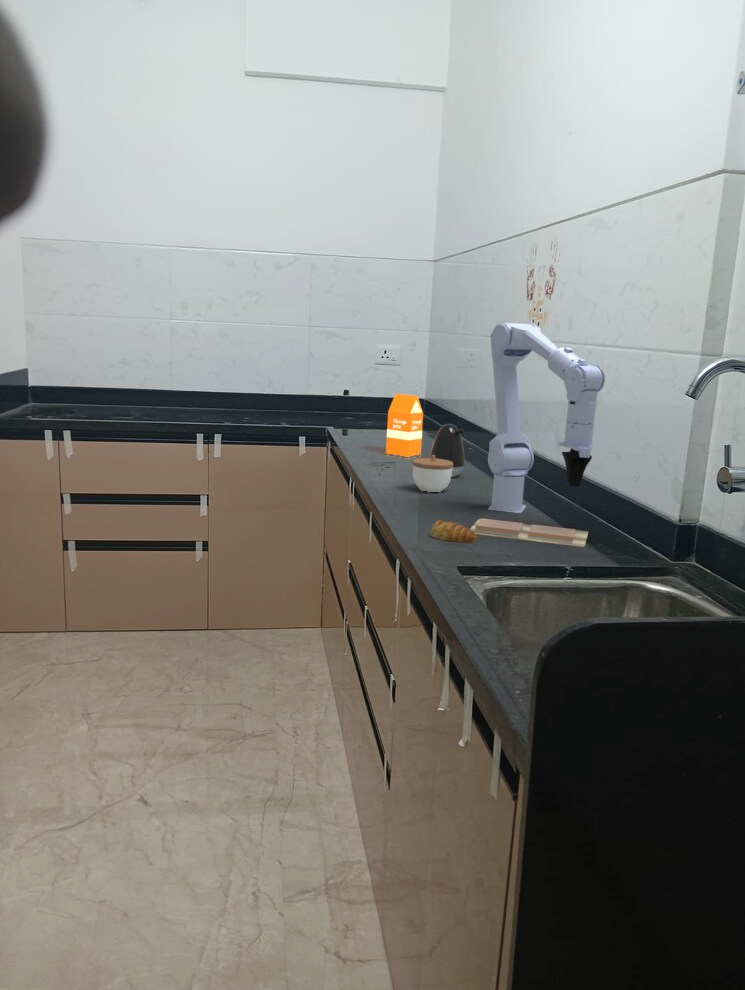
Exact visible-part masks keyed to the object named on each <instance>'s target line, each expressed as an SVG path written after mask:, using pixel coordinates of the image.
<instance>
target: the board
mask: <svg viewBox="0 0 745 990" xmlns="http://www.w3.org/2000/svg"><path fill="white" fill-rule="evenodd" d="M481 519H482V518H478V519H476V521H475V522H474V523H473V525H472V526H471V527H470V528H469V529H470V530H471V531H473V532H474V533H475V534H476V535H480V536H481V535H482V536H488V537H499V538H504V539H514V540H521V541H529V542H538V543H546V544H552V545H553V544H555V545H562V546H570V547H578V548H579V547H580V548H585V547H586V542H587V539H588V537H589V536H588V535H589V531H586V530H585V531H584V530H579V529H578V530H575V537H574V540H573V543H572V544H571V543H563V542H555V541H547V540H539V539H530V538H528V532H529V530H530V528H531V526H532V525H533V524H526V523H523V530H522V532H521V533H520V535H519V537H514V536H506V535H498V534H490V533H481V532H475V529H476V524H477V523H478V522H479V521H480V520H481Z"/></svg>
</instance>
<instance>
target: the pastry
mask: <svg viewBox="0 0 745 990" xmlns="http://www.w3.org/2000/svg"><path fill="white" fill-rule="evenodd" d="M429 536H430V538H433V539H436V540H440V541H441V540H442V541H448V542H455V543H462V544H463V543H465V544H469V543H471V544H473V543H476V542H477V540H478V538H479V536H478V534H475V533H474V532H473V531H471V530H470V528H467V527H466V526H464V525H461V524H460V523H458V522H452V521H446V522H445V521H444V520H441V519H439V520H438V519H437V520H436V521H435V522H434V523H433V525H432V527H431V530H430V535H429Z"/></svg>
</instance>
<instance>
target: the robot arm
mask: <svg viewBox="0 0 745 990" xmlns="http://www.w3.org/2000/svg"><path fill="white" fill-rule="evenodd" d="M489 337H490V347H491V358H492V368H493V369H492V371H493V382H494V395H495V407H496V421H497V434H496V435H495V437H493V438H492V439H491V440H490V441H489V443H488V444H489V445H488V447H489V450H488V455H487V462H488V466H489V469H490V471H491V473H493V485H492V497H491V505H490V506H489V507H488V508H487V510H489V511H499V512H507V513H508V512H509V513H515V514H517V513H518V514H522V513H523V511H524V510H525V509H526V508H527V505H526V504H523V499H524V489H525V488H524V487H525V477H526V476H525V475H528V473H529V471H530V470H531V469H532V467H533V466H534V461H535V459H534V458H535V457H534V452H533V450H532V448H531V441H530V439H529V438H528V437H527V436H526V435H525V434H524V433H523V432H522V428H521V427H522V426H521V425H522V424H521V415H520V414H521V413H520V403H519V402H520V401H519V399H520V398H519V389H518V388H519V386H518V374H517V366H518V364H520V362H521V361H523V360H524V359H525V358H527V357H528V356H529V355H530V354H531V353H532V352H534V353H535V354H537V355H538V356H540V358H543V359H544V360H546V361H547V366H548V369H549V370H550V371H551V372H553V374H555V375H556V376H558V377H559V378H560V379H561V380H562V381H563V382H564V387H565V389H566V399H567V401H568V402H567V403H568V404H567V413H566V423H565V431H564V441H558V445H559V447H564V448H566V449H567V448H568V449H570V450H568V451H562V452H561V454H562V456H563V459H564V463H565V468H566V477H567V484H568V486H569V487H579V486H580V485H581V482H582V479H583V476H584V473H585V470H586V468H587V466H588V465H589V463H590V461H592V458H593V456H592V455H591V450H592V449H593V446H594V445H593V437H594V427H595V418H596V417H595V416H596V409H597V408H596V407H597V399H598V393H600V392H601V390H602V389H603V388H604V385H605V382H606V380H605V379H606V375H605V373H604V370H603V369H602V368H601V367H600V365H598V364H592V365H590V364H588V362H587V360H585V359H584V358H581V357H579V356H578V355H576V354H575V353H573V352H574V349H572V348H571V347H557V346H556V344H554V343H553V342H552V341H551V340H550V339H549V338H548V337H547V336H546V335H544V333H542V328H541V327H539V326H537V325H536V324H535V323H514V322H513V323H511V322H505V321H501V322H498V323H497V324H496V325H495V327H494V328H493V330H492V331H491V334H490V336H489Z"/></svg>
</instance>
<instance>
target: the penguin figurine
mask: <svg viewBox="0 0 745 990" xmlns="http://www.w3.org/2000/svg"><path fill="white" fill-rule="evenodd" d="M464 431H465V430H464V428H460V429H458V427H457V426H456V425H454V424H452V423H445V424H443V425H442V426H441V427H440V428H439V430H438V431H437V434H436V435H435V437H434V441H433V443H432V447H431V449H430V454H429V458H431V455H435V458H436V459H444V460H448V461H451V462H453V469H452V476H451V477H452V478H455V477H457V476H459V475H460V474H461V472H462V471H463V469H464V466H465V465H466V464H465V462H466V460H465V459H466V458H465V448H464V443H463V438H462V435H461V434H463V433H464Z"/></svg>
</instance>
